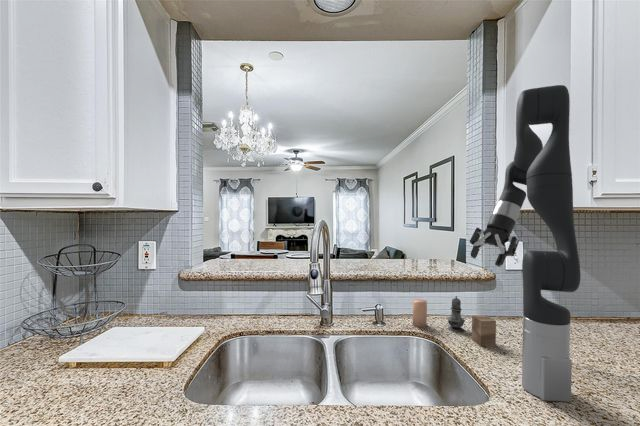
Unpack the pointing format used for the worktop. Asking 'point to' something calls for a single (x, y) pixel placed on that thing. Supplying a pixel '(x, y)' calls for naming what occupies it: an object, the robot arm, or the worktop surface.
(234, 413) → the worktop surface
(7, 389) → the worktop surface
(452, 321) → the dark grey turned piece
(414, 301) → the terracotta canister
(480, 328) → the walnut block
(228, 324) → the worktop surface
